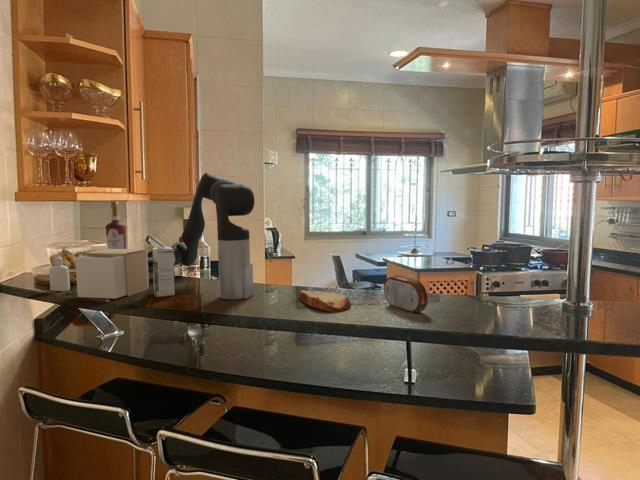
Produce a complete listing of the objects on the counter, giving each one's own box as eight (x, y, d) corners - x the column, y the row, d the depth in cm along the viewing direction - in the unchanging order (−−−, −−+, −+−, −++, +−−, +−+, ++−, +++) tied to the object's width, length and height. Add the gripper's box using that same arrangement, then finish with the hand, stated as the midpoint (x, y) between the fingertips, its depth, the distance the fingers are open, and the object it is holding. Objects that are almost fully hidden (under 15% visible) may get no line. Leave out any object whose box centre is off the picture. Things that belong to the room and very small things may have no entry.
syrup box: (153, 293, 149) (151, 247, 147) (173, 292, 151) (171, 246, 150) (155, 297, 144) (153, 249, 142) (175, 295, 146) (173, 248, 145)
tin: (428, 314, 120) (428, 281, 119) (418, 316, 118) (419, 282, 117) (391, 303, 133) (391, 273, 132) (381, 304, 131) (381, 274, 130)
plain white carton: (149, 287, 158) (147, 251, 156) (115, 298, 141) (113, 258, 140) (114, 286, 161) (112, 250, 159) (77, 296, 144) (75, 257, 143)
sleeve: (147, 289, 156) (145, 249, 154) (128, 296, 146) (126, 253, 145) (108, 288, 159) (106, 248, 158) (87, 294, 149) (85, 252, 148)
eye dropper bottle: (61, 289, 159) (59, 252, 157) (72, 290, 156) (69, 253, 155) (48, 291, 155) (46, 254, 154) (59, 293, 152) (56, 255, 151)
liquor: (131, 272, 191) (127, 201, 188) (124, 275, 183) (121, 202, 180) (112, 272, 190) (108, 201, 187) (105, 276, 183) (101, 202, 180)
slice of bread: (303, 296, 145) (303, 283, 144) (361, 299, 139) (361, 287, 138) (278, 310, 128) (278, 296, 127) (343, 315, 122) (343, 300, 121)
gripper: (143, 249, 176) (112, 255, 160) (176, 249, 173) (148, 256, 156) (144, 269, 177) (114, 277, 160) (176, 270, 174) (149, 278, 157)
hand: (130, 267), depth 158 cm, fingers closed
